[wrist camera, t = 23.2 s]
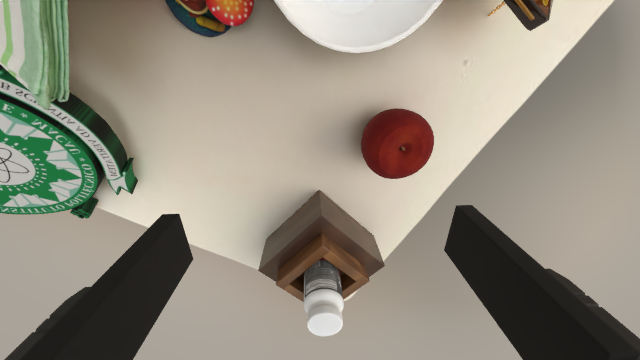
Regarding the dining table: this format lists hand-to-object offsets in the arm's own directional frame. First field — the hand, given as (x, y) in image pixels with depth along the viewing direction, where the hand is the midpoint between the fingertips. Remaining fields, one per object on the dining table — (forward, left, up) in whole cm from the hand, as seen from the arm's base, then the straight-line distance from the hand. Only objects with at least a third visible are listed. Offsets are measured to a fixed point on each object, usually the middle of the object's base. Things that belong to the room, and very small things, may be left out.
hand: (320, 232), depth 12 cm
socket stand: (+17, -16, -29) cm, 37 cm away
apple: (+10, +6, -29) cm, 31 cm away
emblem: (-20, -20, -23) cm, 36 cm away
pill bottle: (+17, -16, -21) cm, 31 cm away
